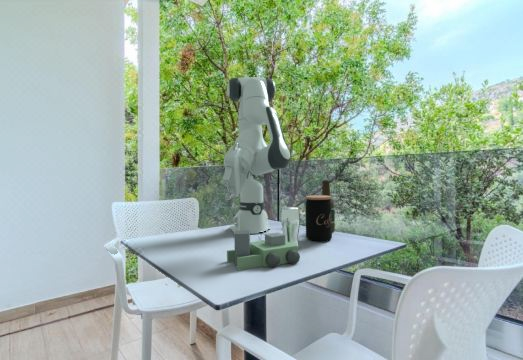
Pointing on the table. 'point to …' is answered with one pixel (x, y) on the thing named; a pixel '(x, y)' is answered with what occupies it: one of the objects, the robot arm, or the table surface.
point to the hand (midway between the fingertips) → (226, 190)
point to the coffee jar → (318, 218)
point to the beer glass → (290, 224)
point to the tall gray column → (242, 244)
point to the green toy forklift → (267, 253)
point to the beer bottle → (327, 192)
